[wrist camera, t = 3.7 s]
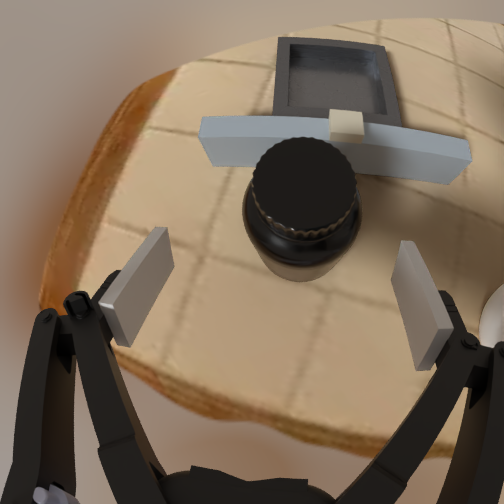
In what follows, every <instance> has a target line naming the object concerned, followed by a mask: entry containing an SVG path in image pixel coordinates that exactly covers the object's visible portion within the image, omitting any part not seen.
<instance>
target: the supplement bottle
mask: <svg viewBox="0 0 504 504" xmlns="http://www.w3.org/2000/svg"><path fill="white" fill-rule="evenodd" d="M356 185H357V181H356V179H355V172H354V170H353V169H352V166H351V163H350V162H349V161H348V160H347V158H346V156H345V155H344V154H342V153H341V152H340V150H339V149H338V148H335V147H334V146H333V145H332V144H331V143H326V142H325V141H323V140H322V139H315V138H313V137H309V138H307V137H304V136H302V137H299V138H296V137H292V138H290V139H284V140H283V141H281V142H280V143H276V144H274V146H273V147H271V148H269V149H267V151H266V153H265V154H263V155H262V156H261V158H260V161H259V162H257V164H256V169H255V170H254V172H253V178H252V179H251V181H250V183H249V184H248V186H247V189H246V191H245V194H244V198H243V205H242V216H243V222H244V226H245V229H246V232H247V234H248V236H249V238H250V240H251V242H252V244H253V245H254V247H255V249H256V250H257V252H258V254H259V256H260V257H261V259H262V261H263V262H264V263H265V265H266V266H267V267H268V268H269V269H270V270H271V271H272V272H273V273H274V274H276V275H277V276H279V277H281V278H283V279H286V280H289V281H294V282H307V281H312V280H315V279H317V278H320V277H321V276H323V275H325V274H326V273H327V272H329V271H330V270H331V269H332V268H333V267H334V266H335V264H336V263H337V262H338V261H339V260H340V259H341V258H342V256H343V255H344V254H345V253H346V252H347V251H348V249H349V248H350V247H351V245H352V244H353V242H354V241H355V239H356V237H357V235H358V232H359V230H360V226H361V222H362V202H361V198H360V194H359V191H358V189H357V187H356Z"/></svg>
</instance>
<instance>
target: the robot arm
mask: <svg viewBox="0 0 504 504" xmlns="http://www.w3.org/2000/svg"><path fill="white" fill-rule="evenodd" d="M173 268H174V262H173V256H172V251H171V246H170V240H169V235H168V229H167V227H155V228H154V229H153V230H152V232H151V233H150V234H149V235H148V237H147V238H146V239H145V240H144V242H143V243H142V244H141V246H140V247H139V248H138V249H137V251H136V252H135V253H134V255H133V256H132V257H131V258H130V260H129V261H128V262H127V264H126V265H125V266H124V268H123V269H122V270H116V271H114V272H113V273H111V274H110V275H109V276H108V277H107V279H106V280H105V281H104V283H103V284H102V285H101V286H100V288H99V289H98V290H97V292H96V293H95V295H94V296H93V297H92V299H91V300H90V297H89V295H88V293H87V292H85V291H76V292H73V293H71V294H70V295H68V296H67V297H66V299H65V300H64V303H63V305H64V307H65V309H66V311H67V314H68V315H62V316H59V315H58V313H57V311H56V310H55V309H53V308H48V309H45V310H43V311H41V312H40V313H39V314H38V315H37V317H36V319H35V322H34V326H33V330H32V334H31V338H30V342H29V346H28V351H27V355H26V359H25V365H24V370H23V375H22V380H21V386H20V393H19V399H18V407H17V414H16V423H15V433H14V446H13V463H12V466H11V469H10V472H9V475H8V478H7V481H6V484H5V487H4V491H3V494H2V498H1V501H0V504H80V503H79V501H78V500H77V499H76V498H75V493H76V472H75V454H74V391H75V373H76V360H77V362H78V367H79V371H80V376H81V381H82V385H83V389H84V393H85V397H86V401H87V404H88V408H89V412H90V415H91V419H92V422H93V425H94V429H95V432H96V435H97V438H98V441H99V444H100V447H99V448H98V455H99V458H100V461H101V464H102V467H103V470H104V472H105V475H106V477H107V480H108V482H109V485H110V487H111V490H112V492H113V495H114V497H115V499H116V501H117V504H394V503H395V502H396V501H397V499H398V498H399V497H400V495H401V494H402V493H403V491H404V490H405V488H406V486H407V482H408V480H409V479H410V477H411V476H412V474H413V473H414V471H415V470H416V469H417V467H418V466H419V464H420V463H421V461H422V460H423V458H424V457H425V455H426V454H427V452H428V451H429V449H430V448H431V446H432V444H433V443H434V441H435V439H436V438H437V436H438V434H439V433H440V431H441V429H442V428H443V426H444V424H445V422H446V421H447V419H448V417H449V415H450V413H451V411H452V410H453V408H454V406H455V404H456V402H457V400H458V398H459V396H460V394H461V392H462V390H463V388H464V387H467V388H468V394H467V399H466V404H465V409H464V414H463V419H462V423H461V427H460V431H459V435H458V439H457V443H456V447H455V450H454V454H453V457H452V460H451V464H450V467H449V470H448V473H447V476H446V479H445V482H444V485H443V487H442V490H441V493H440V496H439V498H438V501H437V503H436V504H498V502H499V498H500V494H501V490H502V486H503V482H504V341H500V342H497V343H496V344H495V346H494V347H493V348H491V347H487V346H483V345H480V342H479V340H478V339H477V337H475V336H474V335H473V334H471V333H468V332H467V330H466V328H465V325H464V323H463V321H462V318H461V316H460V314H459V312H458V309H457V307H456V306H455V303H454V301H453V299H452V297H451V296H450V295H449V294H448V293H447V292H446V291H443V290H437V287H436V285H435V283H434V281H433V279H432V277H431V275H430V273H429V271H428V268H427V266H426V264H425V262H424V260H423V258H422V256H421V254H420V253H419V251H418V249H417V247H416V245H415V243H414V241H404V240H401V244H400V248H399V252H398V256H397V260H396V263H395V267H394V271H393V274H392V278H391V282H392V285H393V289H394V292H395V295H396V298H397V302H398V305H399V308H400V312H401V315H402V319H403V322H404V326H405V330H406V333H407V337H408V341H409V345H410V349H411V353H412V357H413V361H414V365H415V370H416V371H424V370H431V368H432V366H433V365H434V363H436V367H437V370H436V372H435V373H434V375H433V376H432V378H431V379H430V381H429V382H428V385H427V386H426V388H425V389H424V391H423V393H422V394H421V396H420V397H419V399H418V400H417V402H416V403H415V405H414V406H413V408H412V409H411V411H410V412H409V413H408V415H407V416H406V418H405V419H404V420H403V422H402V423H401V425H400V426H399V427H398V429H397V430H396V431H395V433H394V434H393V435H392V437H391V438H390V439H389V440H388V442H387V443H386V444H385V445H384V447H383V448H382V449H381V450H380V452H379V453H378V454H377V455H376V456H375V458H374V459H373V460H372V461H371V462H370V464H369V465H368V466H367V467H366V468H365V469H364V470H363V472H362V473H361V474H360V475H359V476H358V477H357V478H356V479H355V481H354V482H352V484H351V485H350V486H349V487H348V488H347V489H346V490H345V491H344V492H343V493H342V494H341V495H340V496H339V497H338V498H337V499H336V500H335V499H334V498H333V497H332V496H331V495H329V494H328V493H326V492H325V491H323V490H321V489H319V488H317V487H314V486H311V485H308V479H290V478H274V479H267V480H259V481H245V480H242V479H239V478H237V477H234V476H232V475H229V474H226V473H224V472H221V471H219V470H213V469H207V468H203V467H197V466H191V469H190V471H181V472H176V473H173V474H170V475H167V474H166V472H165V471H164V469H163V467H162V466H161V464H160V463H159V461H158V459H157V457H156V455H155V453H154V451H153V449H152V447H151V445H150V443H149V441H148V438H147V436H146V434H145V432H144V430H143V428H142V425H141V423H140V420H139V418H138V416H137V413H136V411H135V409H134V406H133V404H132V401H131V399H130V396H129V394H128V391H127V388H126V386H125V383H124V380H123V378H122V375H121V372H120V369H119V366H118V364H117V361H116V358H115V355H114V352H113V349H112V346H111V344H110V341H111V340H112V338H113V337H114V339H115V341H116V344H117V345H120V346H125V347H131V345H132V344H133V342H134V340H135V338H136V336H137V334H138V332H139V330H140V328H141V326H142V324H143V323H144V321H145V319H146V317H147V315H148V313H149V311H150V310H151V308H152V306H153V304H154V302H155V300H156V299H157V297H158V295H159V293H160V291H161V290H162V288H163V286H164V284H165V282H166V281H167V279H168V277H169V275H170V274H171V272H172V270H173Z"/></svg>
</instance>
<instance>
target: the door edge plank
mask: <svg viewBox="0 0 504 504" xmlns="http://www.w3.org/2000/svg"><path fill="white" fill-rule="evenodd" d="M302 136H304V137H307V138H309V137H313V138H315V139H322V140H323V141H325V142H326V143H331V144H332V145H333V146H334V147H335V148H338V149H339V150H340V152H341V153H342V154H344V155H345V156H346V158H347V160H348V161H349V162H350V163H351V166H352V169H353V170H354V172H355V173H360V174H370V175H379V176H388V177H397V178H404V179H412V180H419V181H426V182H433V183H440V184H446V185H448V184H449V183H451V182H452V181H453V180H454V179H455V178H456V177H457V176H458V175H459V174H460V173H461V172H462V171H463V170H464V169H465V168H466V167H467V166H468V165H469V164H470V163H471V162H472V158H471V153H470V149H469V144H468V140H464V139H459V138H455V137H450V136H446V135H441V134H436V133H431V132H426V131H420V130H414V129H408V128H402V127H396V126H389V125H382V124H374V123H366V122H363V116H362V112H356V111H347V110H336V109H330V112H329V119H325V118H310V117H289V116H211V117H202V121H201V125H200V130H199V135H198V138H199V140H200V142H201V144H202V146H203V148H204V150H205V152H206V154H207V156H208V158H209V160H210V162H211V163H212V165H213V166H231V167H256V164H257V162H259V161H260V158H261V156H262V155H263V154H265V153H266V151H267V149H269V148H271V147H273V146H274V144H276V143H280V142H281V141H283V140H284V139H290V138H292V137H296V138H299V137H302Z"/></svg>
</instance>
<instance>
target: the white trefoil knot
mask: <svg viewBox="0 0 504 504" xmlns="http://www.w3.org/2000/svg"><path fill="white" fill-rule="evenodd" d="M479 338H480V343H481V345H483V346H487V347H491V348H493V347H494V346H495V344H496V343H497V342H500V341H504V283H503V284H502V285H501V286H500V287H499V288H498V289H497V290H496V291H495V292H494V293H493V294H492V296H491V297H490V298H489V299H488V301H487V303H486V305H485V307H484V309H483V312H482V315H481V318H480V324H479Z"/></svg>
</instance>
